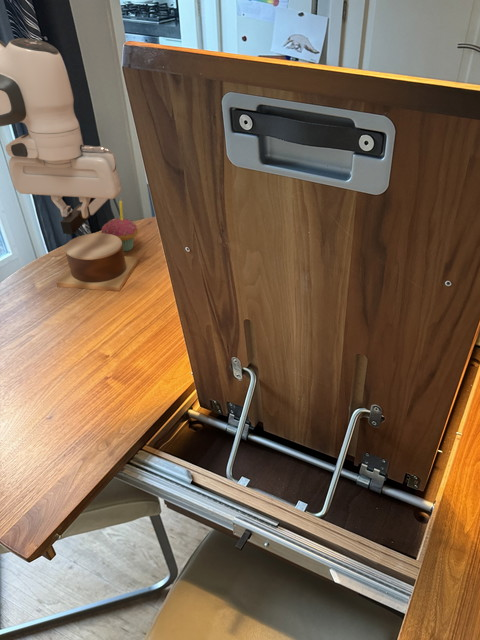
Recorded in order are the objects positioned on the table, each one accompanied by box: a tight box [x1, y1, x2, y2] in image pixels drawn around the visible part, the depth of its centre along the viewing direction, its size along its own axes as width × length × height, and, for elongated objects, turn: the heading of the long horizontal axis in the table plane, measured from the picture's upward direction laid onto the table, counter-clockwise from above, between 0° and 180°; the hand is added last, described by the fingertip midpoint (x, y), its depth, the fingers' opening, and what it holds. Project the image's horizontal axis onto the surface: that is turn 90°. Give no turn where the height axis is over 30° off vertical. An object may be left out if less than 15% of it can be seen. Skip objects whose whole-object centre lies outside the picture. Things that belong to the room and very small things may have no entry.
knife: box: [60, 198, 109, 235], centre depth 108 cm, size 20×3×2 cm, turn 174°
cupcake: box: [101, 197, 139, 253], centre depth 124 cm, size 9×8×12 cm
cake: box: [55, 232, 140, 292], centre depth 115 cm, size 14×14×7 cm
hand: (75, 216), depth 104 cm, fingers closed on knife, 2 cm apart
